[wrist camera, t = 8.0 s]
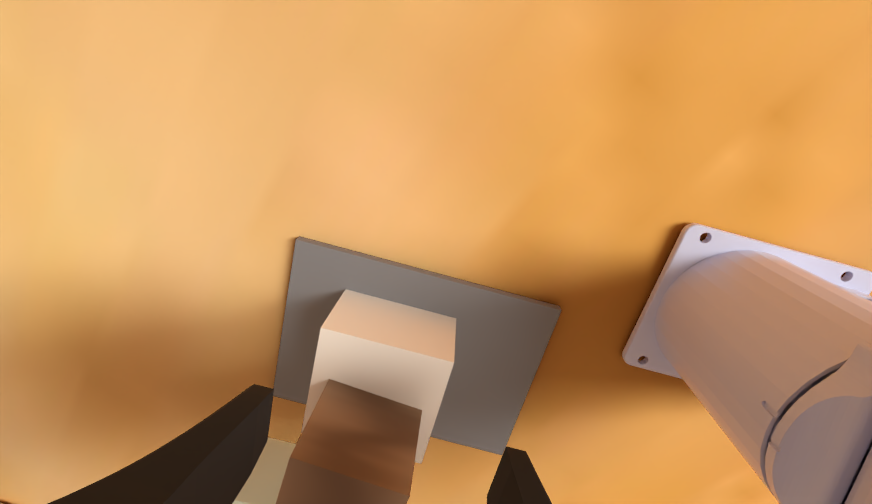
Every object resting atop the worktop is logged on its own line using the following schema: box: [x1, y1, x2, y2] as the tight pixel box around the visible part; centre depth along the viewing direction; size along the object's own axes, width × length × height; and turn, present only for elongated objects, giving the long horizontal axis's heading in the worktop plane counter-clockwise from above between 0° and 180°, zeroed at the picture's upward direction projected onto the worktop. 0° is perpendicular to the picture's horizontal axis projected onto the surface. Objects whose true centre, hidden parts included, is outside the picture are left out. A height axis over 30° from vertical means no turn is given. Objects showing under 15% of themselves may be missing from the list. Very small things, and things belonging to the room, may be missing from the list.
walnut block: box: [276, 379, 422, 504], centre depth 18 cm, size 4×4×4 cm
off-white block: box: [301, 289, 456, 463], centre depth 21 cm, size 6×6×4 cm
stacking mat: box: [273, 236, 561, 455], centre depth 23 cm, size 14×10×1 cm
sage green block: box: [232, 437, 296, 504], centre depth 25 cm, size 4×4×4 cm
